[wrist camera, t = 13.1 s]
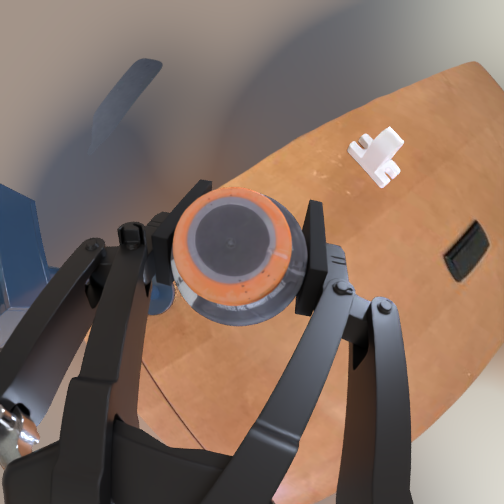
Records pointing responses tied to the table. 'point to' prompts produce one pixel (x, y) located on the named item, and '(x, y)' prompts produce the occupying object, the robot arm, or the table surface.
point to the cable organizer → (378, 155)
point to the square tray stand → (35, 264)
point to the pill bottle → (238, 256)
